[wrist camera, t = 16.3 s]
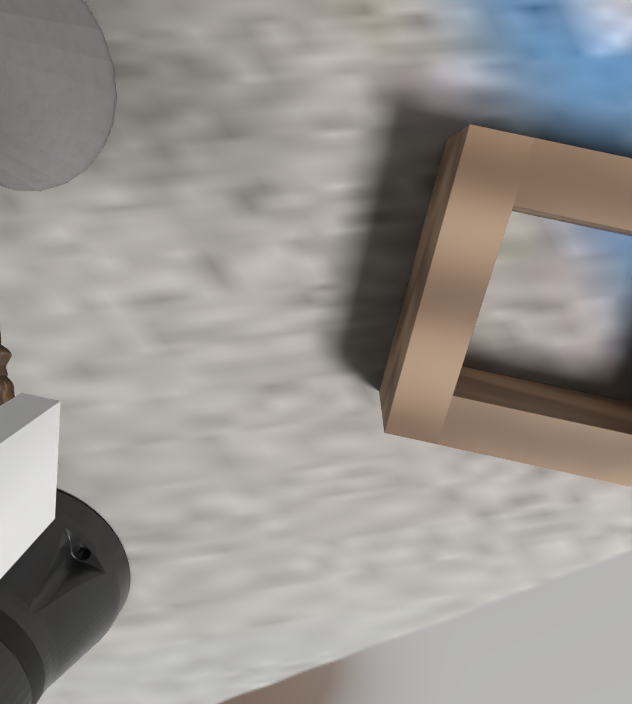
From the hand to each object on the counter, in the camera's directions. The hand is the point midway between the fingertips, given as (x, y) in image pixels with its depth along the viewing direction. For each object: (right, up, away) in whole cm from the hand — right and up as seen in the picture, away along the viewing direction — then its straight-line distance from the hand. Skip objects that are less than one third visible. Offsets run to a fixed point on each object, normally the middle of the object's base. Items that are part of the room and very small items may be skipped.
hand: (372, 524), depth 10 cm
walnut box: (+15, +6, +20) cm, 26 cm away
